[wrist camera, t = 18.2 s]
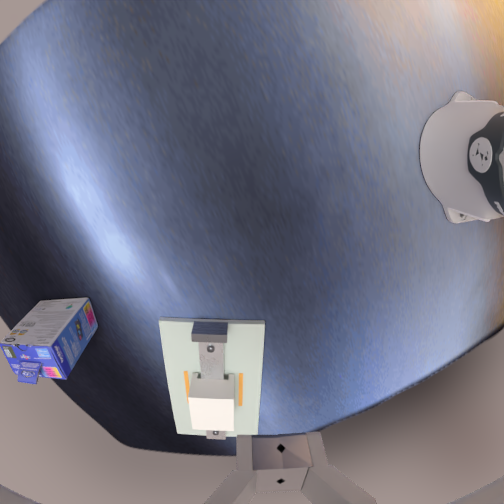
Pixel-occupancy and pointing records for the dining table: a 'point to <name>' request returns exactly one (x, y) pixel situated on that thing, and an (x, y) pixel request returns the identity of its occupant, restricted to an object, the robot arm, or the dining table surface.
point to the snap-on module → (212, 403)
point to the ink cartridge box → (50, 339)
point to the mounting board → (235, 362)
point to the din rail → (211, 355)
